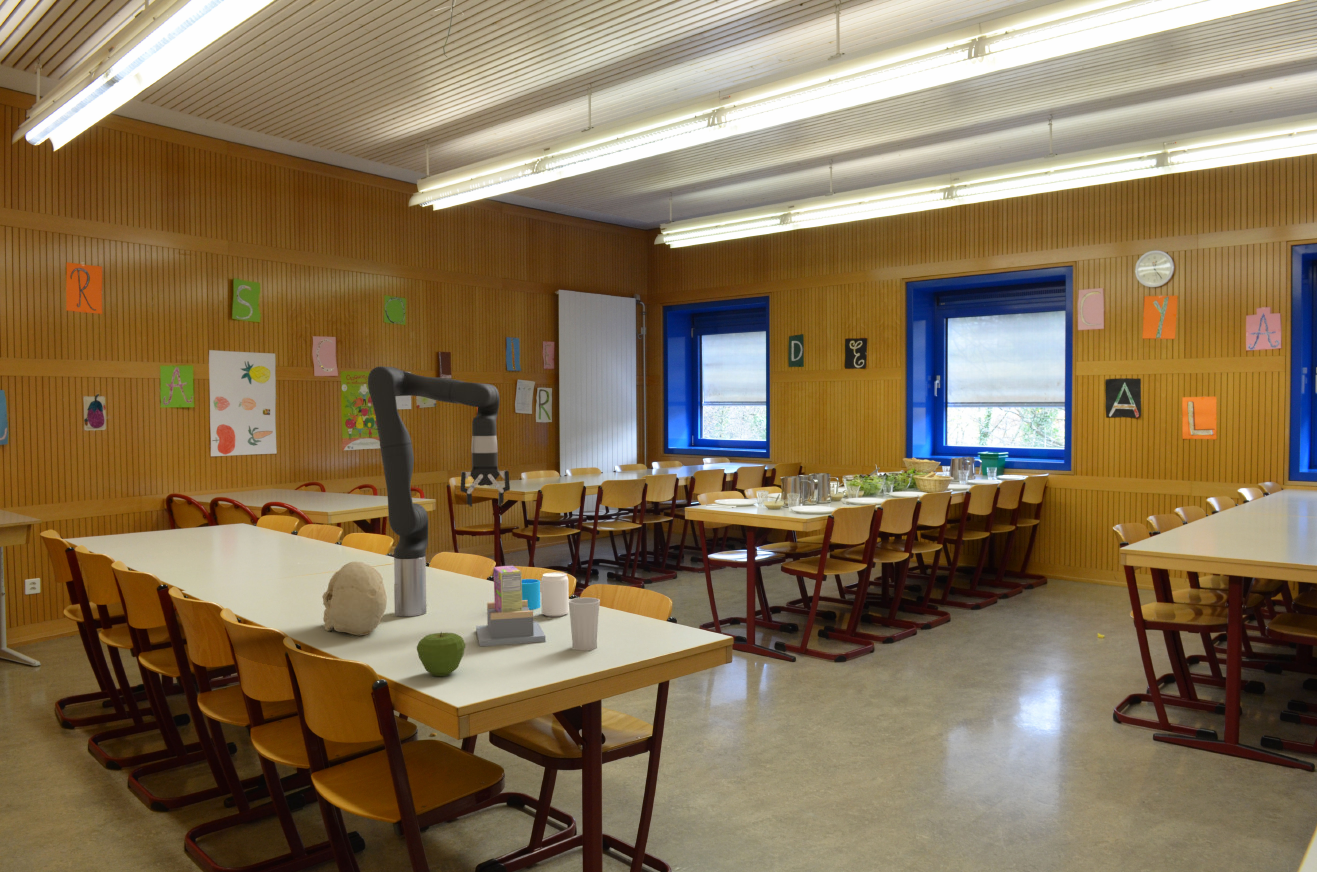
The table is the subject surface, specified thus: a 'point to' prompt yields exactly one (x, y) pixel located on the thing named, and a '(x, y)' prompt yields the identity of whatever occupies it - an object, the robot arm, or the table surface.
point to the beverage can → (554, 594)
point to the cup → (584, 622)
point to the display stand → (509, 627)
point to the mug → (531, 593)
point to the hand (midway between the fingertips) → (485, 505)
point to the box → (507, 589)
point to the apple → (441, 653)
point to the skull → (354, 599)
